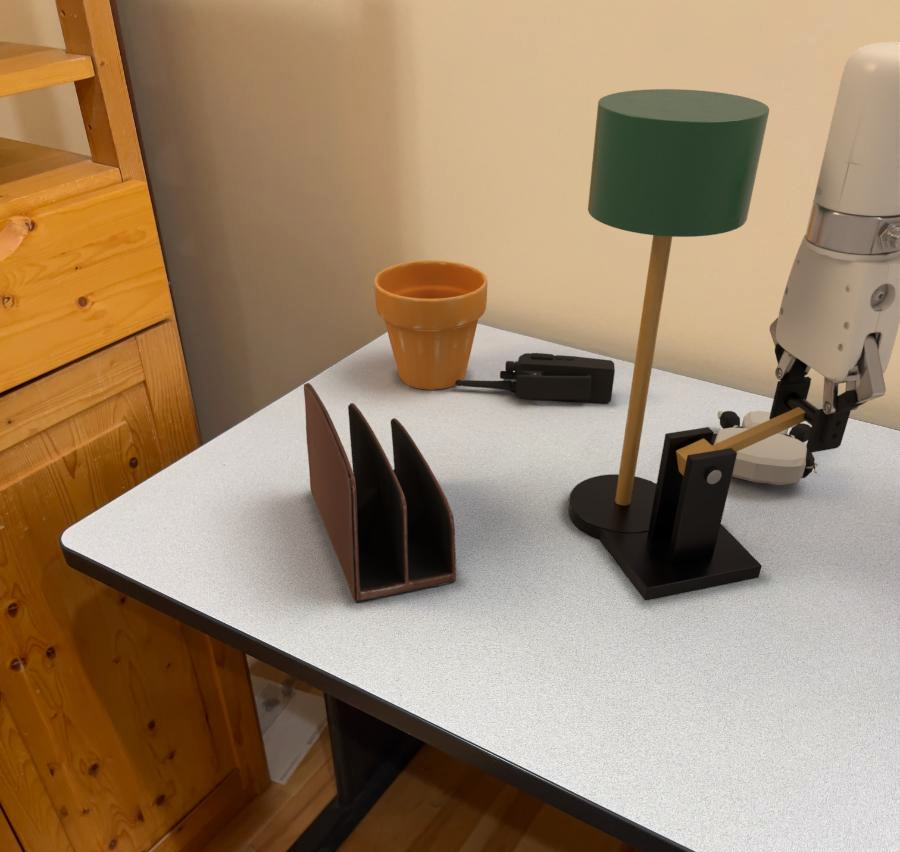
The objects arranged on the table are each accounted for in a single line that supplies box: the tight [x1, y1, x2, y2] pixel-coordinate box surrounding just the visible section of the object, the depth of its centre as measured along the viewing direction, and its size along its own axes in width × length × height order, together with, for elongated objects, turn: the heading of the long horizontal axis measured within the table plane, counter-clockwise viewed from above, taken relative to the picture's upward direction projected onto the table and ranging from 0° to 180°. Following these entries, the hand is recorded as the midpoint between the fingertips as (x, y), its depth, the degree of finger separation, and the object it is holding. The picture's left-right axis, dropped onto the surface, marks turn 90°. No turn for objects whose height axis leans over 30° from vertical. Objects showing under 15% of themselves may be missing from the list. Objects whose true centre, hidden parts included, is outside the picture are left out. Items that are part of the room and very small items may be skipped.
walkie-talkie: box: [455, 352, 616, 403], centre depth 112 cm, size 6×6×20 cm
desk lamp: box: [567, 88, 770, 541], centre depth 80 cm, size 13×13×38 cm
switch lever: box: [676, 393, 819, 476], centre depth 79 cm, size 13×5×2 cm, turn 107°
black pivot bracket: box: [599, 426, 763, 602], centre depth 82 cm, size 12×10×13 cm
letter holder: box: [303, 382, 457, 604], centre depth 85 cm, size 10×20×14 cm, turn 19°
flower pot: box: [373, 259, 488, 391], centre depth 114 cm, size 14×14×13 cm
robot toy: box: [711, 410, 819, 486], centre depth 99 cm, size 12×4×15 cm
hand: (803, 431), depth 81 cm, fingers closed on switch lever, 5 cm apart
